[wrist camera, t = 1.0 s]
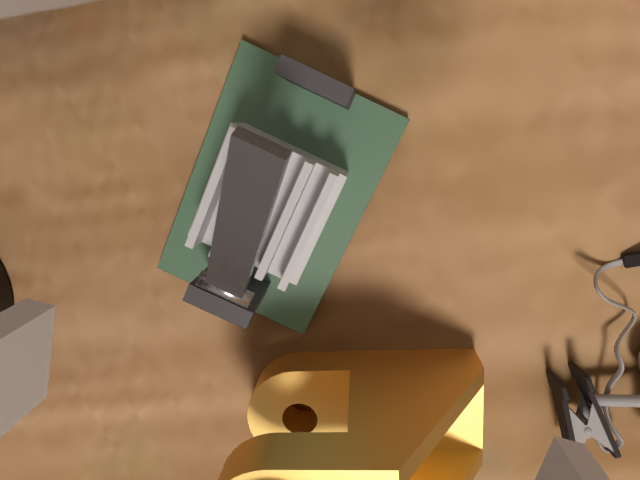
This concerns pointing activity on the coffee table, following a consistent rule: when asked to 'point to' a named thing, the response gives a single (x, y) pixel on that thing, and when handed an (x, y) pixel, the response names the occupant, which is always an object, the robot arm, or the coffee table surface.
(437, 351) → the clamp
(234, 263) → the strap
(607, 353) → the coffee table surface
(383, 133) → the heatsink base
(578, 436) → the clip-on lamp
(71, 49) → the coffee table surface
